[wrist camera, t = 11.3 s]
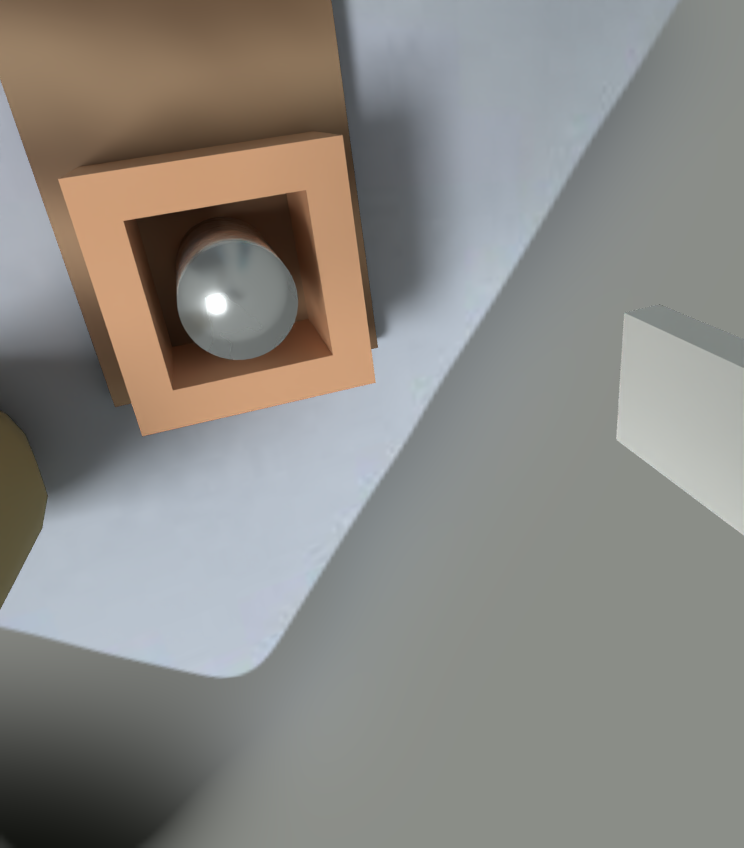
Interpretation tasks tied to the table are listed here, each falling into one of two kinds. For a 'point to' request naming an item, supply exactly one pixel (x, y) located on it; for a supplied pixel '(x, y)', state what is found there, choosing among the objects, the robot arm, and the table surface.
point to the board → (169, 114)
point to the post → (233, 290)
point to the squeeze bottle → (17, 502)
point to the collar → (138, 301)
